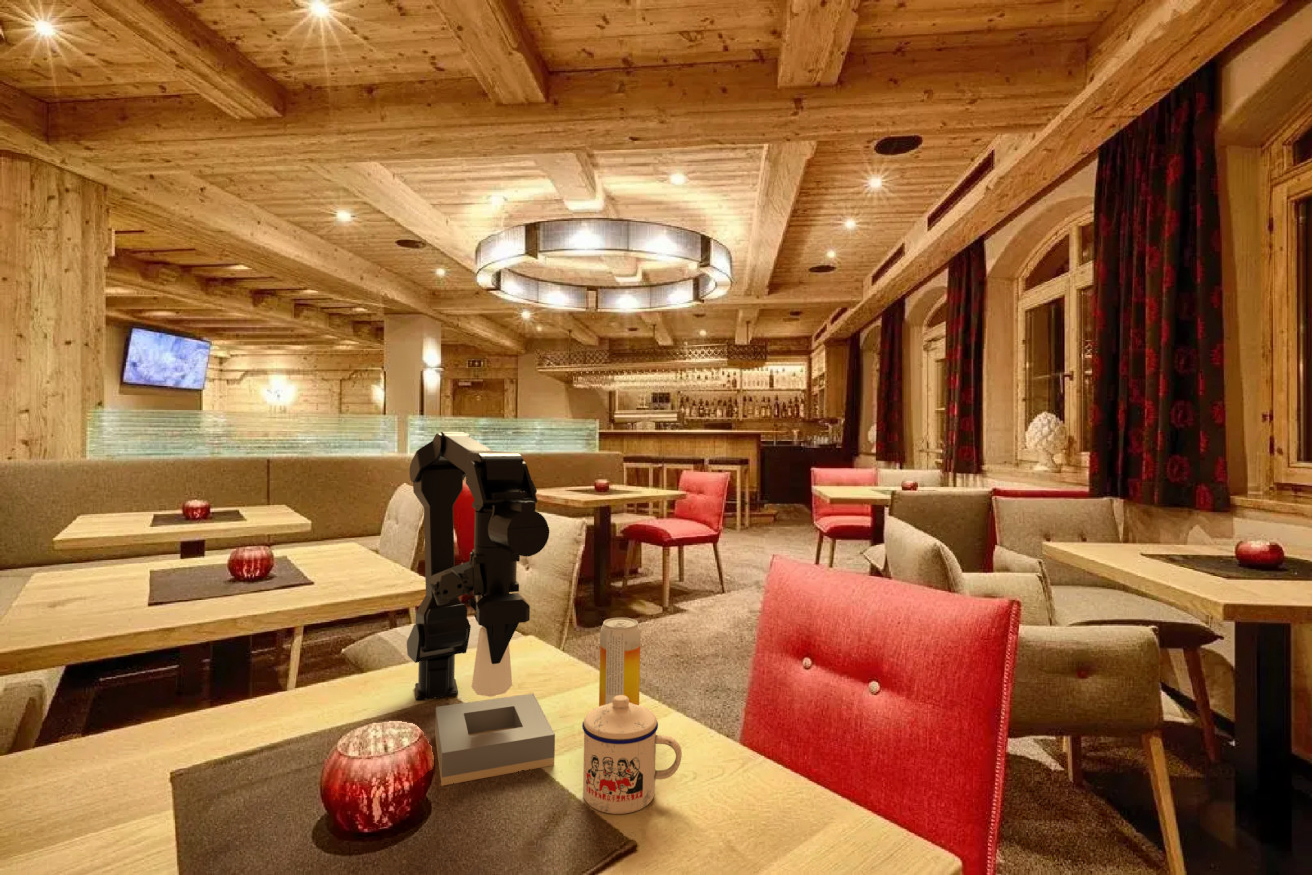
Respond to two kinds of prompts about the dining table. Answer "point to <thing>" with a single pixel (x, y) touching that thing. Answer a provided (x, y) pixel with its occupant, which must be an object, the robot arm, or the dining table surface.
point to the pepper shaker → (490, 670)
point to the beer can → (619, 660)
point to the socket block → (492, 738)
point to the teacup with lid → (622, 756)
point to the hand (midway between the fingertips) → (493, 658)
